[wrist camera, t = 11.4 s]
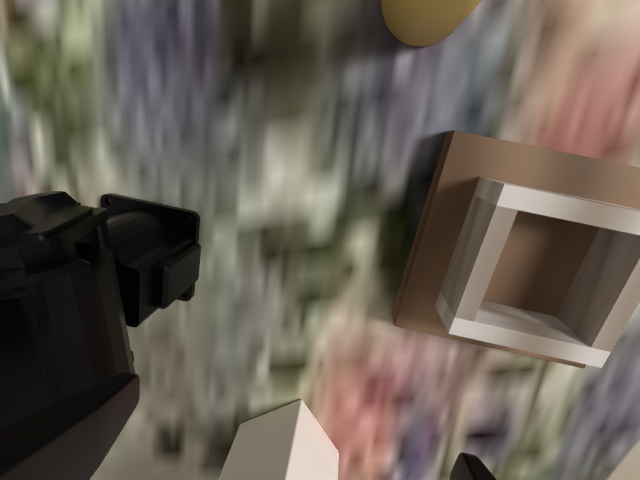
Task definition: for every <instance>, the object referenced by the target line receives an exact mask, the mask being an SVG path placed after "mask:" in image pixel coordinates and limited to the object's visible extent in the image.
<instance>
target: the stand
mask: <svg viewBox="0 0 640 480" xmlns="http://www.w3.org/2000/svg"><path fill="white" fill-rule="evenodd" d="M639 302H640V168H639V167H634V166H629V165H624V164H619V163H614V162H609V161H604V160H599V159H594V158H589V157H584V156H579V155H574V154H569V153H564V152H559V151H554V150H549V149H544V148H539V147H534V146H529V145H525V144H520V143H515V142H510V141H505V140H500V139H495V138H490V137H485V136H480V135H475V134H470V133H465V132H460V131H447V133H446V136H445V139H444V143H443V146H442V149H441V153H440V156H439V159H438V163H437V166H436V169H435V172H434V176H433V179H432V182H431V186H430V189H429V192H428V196H427V199H426V202H425V206H424V209H423V212H422V215H421V219H420V222H419V225H418V229H417V232H416V235H415V239H414V242H413V245H412V249H411V252H410V255H409V258H408V262H407V265H406V268H405V272H404V275H403V278H402V282H401V285H400V288H399V292H398V295H397V298H396V301H395V305H394V308H393V311H392V317H393V322H394V326H397V327H402V328H406V329H410V330H415V331H419V332H424V333H428V334H433V335H437V336H442V337H446V338H451V339H455V340H459V341H464V342H468V343H473V344H477V345H482V346H486V347H491V348H495V349H500V350H504V351H508V352H513V353H517V354H522V355H526V356H531V357H535V358H540V359H544V360H549V361H553V362H557V363H562V364H566V365H571V366H575V367H580V368H585V366H586V364H587V365H591V366H596V367H600V368H602V366H603V365H604V363H605V361H606V359H607V358H608V356H609V354H610V352H611V351H612V349H613V347H614V345H615V344H616V342H617V340H618V338H619V337H620V335H621V333H622V331H623V330H624V328H625V326H626V325H627V323H628V321H629V319H630V318H631V316H632V314H633V312H634V311H635V309H636V307H637V305H638V304H639Z"/></svg>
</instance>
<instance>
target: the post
mask: <svg viewBox="0 0 640 480" xmlns="http://www.w3.org/2000/svg"><path fill="white" fill-rule="evenodd" d="M481 1H482V0H381V6H382V14H383V18H384V21H385V23H386V25H387V27H388V29H389V30H390V32H391V33H392V34H393V35H394V36H395V37H396V38H397V39H398V40H399V41H401V42H403V43H405V44H407V45H410V46H416V47H425V46H430V45H433V44H436V43H438V42H440V41H442V40H443V39H445V38H446V37H448V36H449V35H450V34H451V33H452V32H453V31H454V30H455V29H456V28H457V27H458V26H459V25H460V24H461V23H462V21H463V20H464V19H465V18H466V17H467V16H468V15H469V14H470V13H471V12H472V11H473V10H474V9H475V7H476V6H477V5H478V4H479V3H480V2H481Z"/></svg>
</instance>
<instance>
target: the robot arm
mask: <svg viewBox="0 0 640 480" xmlns="http://www.w3.org/2000/svg"><path fill="white" fill-rule="evenodd" d="M109 199H110V200H111V201H112V204H110V202H109ZM189 216H191V217H192V218H193V220H194V221H193V222H191V221H190V220H189ZM199 226H200V217H199V215H198V214H197V213H196V212H194V211H191V210H186V209H182V208H177V207H173V206H168V205H163V204H159V203H154V202H149V201H145V200H140V199H136V198H131V197H126V196H122V195H117V194H112V193H109V194H105V195H103V196H102V197H101V208H93V207H88V206H81V204H80V203H77V202H76V201H75V200H74V199H73V198H72V197H71V196H69V195H68V194H67V193H66V192H62V191H51V192H45V193H40V194H34V195H29V196H24V197H20V198H16V199H13V200H11V201H9V202H8V203H0V480H90V478H91V477H92V476H93V474H94V473H95V471H96V470H97V469H98V467H99V466H100V464H101V463H102V461H103V460H104V458H105V457H106V455H107V453H108V452H109V450H110V449H111V447H112V445H113V444H114V442H115V440H116V439H117V437H118V435H119V434H120V432H121V431H122V429H123V427H124V426H125V424H126V422H127V421H128V419H129V417H130V416H131V414H132V412H133V411H134V409H135V408H136V406H137V404H138V401H139V389H140V378H139V376H138V375H137V374H135V370H134V365H133V362H134V356H133V352H132V351H131V348H130V343H129V338H128V332H127V327H126V326H131V327H137V326H139V325H140V324H141V323H142V322H143V321H144V320H145V319H147V318H148V317H149V316H150V315H151V314H152V313H153V312H155V311H156V310H157V309H158V308H160V309H165V308H167V307H168V306H169V305H170V304H171V303H173V302H174V301H175V300H176V299H177V300H182V301H189V300H190V299H191V298H192V297H193V296H194V291H195V282H196V281H197V280H198V278H199V265H200V253H201V246H200V245H199V243H198V239H199ZM184 292H187V293H188V295H185V293H184ZM450 480H496V478H495V477H494V476H493V475H492V474H491V472H490V471H489V470H488V469H487V467H486V466H485V465H484V464H483V463H482V461H481V460H480V459H479V458H478V457H477V456H475V455H472V454H467V453H460V454H459V455H458V457H457V460H456V462H455V464H454V466H453V469H452V471H451V474H450Z"/></svg>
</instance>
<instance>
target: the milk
mask: <svg viewBox="0 0 640 480" xmlns="http://www.w3.org/2000/svg"><path fill="white" fill-rule="evenodd" d="M338 460H339V452H338V450H337V449H336V448H335V446H334V445H333V443H332V442H331V440H330V439H329V438H328V436H327V435H326V433H325V432H324V430H323V429H322V428H321V426H320V425H319V423H318V422H317V420H316V419H315V417H314V416H313V415H312V413H311V412H310V410H309V409H308V407H307V406H306V405H305V403H304V402H303V400H298V401H296V402H293V403H291V404H288V405H286V406H283V407H281V408H278V409H276V410H273V411H271V412H268V413H266V414H263V415H261V416H258V417H256V418H253V419H251V420H248V421H246V422H243V423H241V424H240V426H239V429H238V431H237V434H236V436H235V439H234V441H233V444H232V446H231V449H230V451H229V454H228V456H227V459H226V461H225V464H224V467H223V469H222V472H221V474H220V477H219V479H218V480H338Z"/></svg>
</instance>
